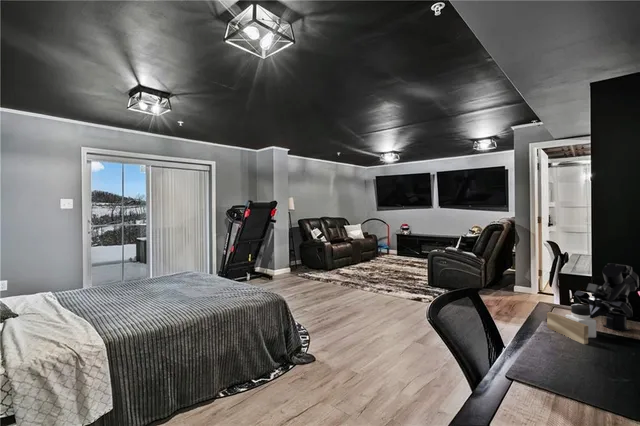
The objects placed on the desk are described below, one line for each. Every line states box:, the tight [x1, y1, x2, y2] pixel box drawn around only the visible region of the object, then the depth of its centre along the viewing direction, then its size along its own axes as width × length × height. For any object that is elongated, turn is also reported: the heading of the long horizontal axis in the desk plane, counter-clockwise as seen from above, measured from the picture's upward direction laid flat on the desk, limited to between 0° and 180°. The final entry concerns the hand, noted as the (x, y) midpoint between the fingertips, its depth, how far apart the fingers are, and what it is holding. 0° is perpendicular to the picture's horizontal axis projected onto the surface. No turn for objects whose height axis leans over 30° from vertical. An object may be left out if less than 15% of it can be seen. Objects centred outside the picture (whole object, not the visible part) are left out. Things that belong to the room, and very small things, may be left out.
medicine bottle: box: [565, 303, 597, 339], centre depth 130 cm, size 7×7×12 cm
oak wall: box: [546, 311, 589, 345], centre depth 129 cm, size 2×16×7 cm, turn 10°
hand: (589, 317), depth 131 cm, fingers closed
